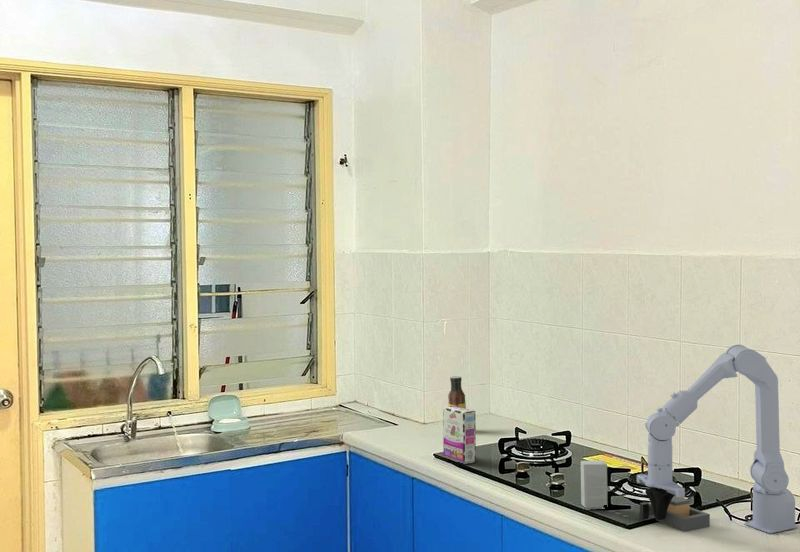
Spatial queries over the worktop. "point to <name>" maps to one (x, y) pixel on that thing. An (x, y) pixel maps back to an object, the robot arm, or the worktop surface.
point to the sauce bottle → (456, 393)
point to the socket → (687, 520)
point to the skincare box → (593, 483)
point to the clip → (646, 510)
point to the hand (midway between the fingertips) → (660, 518)
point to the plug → (679, 506)
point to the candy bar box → (459, 433)
